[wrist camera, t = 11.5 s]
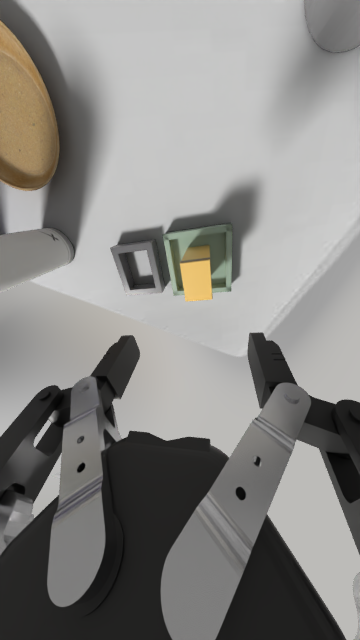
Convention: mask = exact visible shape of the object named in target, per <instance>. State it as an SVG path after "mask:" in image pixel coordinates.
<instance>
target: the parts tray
mask: <svg viewBox="0 0 360 640" xmlns="http://www.w3.org/2000/svg"><path fill="white" fill-rule="evenodd" d="M163 240H164V245H165V251H166V256H167V262H168V267H169V273H170V278H171V283H172V289H173V294H174V296H176V295H185V294H184V288H183V281H182V275H181V268H180V261H181V260H182V258H183V256H184V254H185V252H186V250H187V248H189V247H196V246H204V245H210V262H211V280H212V293H216V292H229V291H231V272H232V224H231V223H226V224H219V225H213V226H206V227H199V228H193V229H186V230H180V231H173V232H166V233H165V234H163Z"/></svg>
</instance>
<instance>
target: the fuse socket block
mask: <svg viewBox="0 0 360 640" xmlns="http://www.w3.org/2000/svg"><path fill="white" fill-rule="evenodd" d="M110 249H111V252H112V255H113V258H114V260H115V263H116V266H117V269H118V272H119V275H120V278H121V280H122V283H123V286H124V289H125V292H126V295H140V294H152V293H162V292H163V290H164V288H165V284H164V279H163V274H162V269H161V265H160V260H159V255H158V250H157V245H156V240H155V239H154V240H147V241H140V242H133V243H126V244H120V245H116V246H113V247H111V248H110ZM141 250H147V253H148V258H149V262H150V266H151V270H152V274H153V278H154V283H150V284H140V285H135V284H134V281H133V277H132V274H131V271H130V268H129V264H128V261H127V258H126V255H125V253H126V252H134V251H141Z"/></svg>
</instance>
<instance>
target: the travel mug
mask: <svg viewBox="0 0 360 640" xmlns="http://www.w3.org/2000/svg"><path fill="white" fill-rule="evenodd" d="M73 258H74V249H73V246H72V244H71V242H70V241H69V239H68V238H67V237H66V236H65V235H64V234H63V233H62V232H60V231H59V230H57V229H54V228H43V229H36V230H30V231H23V232H16V233H9V234H3V235H0V293H1V292H3V291H5V290H8V289H10V288H13V287H15V286H17V285H20V284H22V283H24V282H27V281H29V280H31V279H34V278H36V277H38V276H41V275H43V274H45V273H48V272H50V271H53V270H55V269H57V268H60V267H62V266H64V265H67V264H69V263H71V261H72V260H73Z"/></svg>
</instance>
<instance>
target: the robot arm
mask: <svg viewBox="0 0 360 640" xmlns="http://www.w3.org/2000/svg"><path fill="white" fill-rule="evenodd" d="M304 4H305V17H306V21H307V25H308V29H309V32H310V34H311V36H312V37H313V39H314V41H315V42H316V43H317V44H318V45H319V46H320V47H321V48H322V49H325V50H327V51H330V52H344V51H347V50H350V49H354V48H356V47H357V46H359V45H360V0H304ZM139 357H140V351H139V348H138V346H137V343H136V340H135V338H134V336H132V335H129V336H121V338H120V339H119V341H118V342H117V343H115V344H114V345H112V346H111V347H110V348H109V350H108V351H107V353H106V354H105V355H104V357H103V359H102V360H101V361H100V363H99V364H98V365H97V367H96V368H95V370H94V371H93V373H92V374H91V376H89V377H86V378H83V379H81V380H80V381H78V382H77V383H76V384H75V385H74V386H73V387H72V388H68V389H65V390H60V389H59V388H58V386H55V385H54V386H49V387H46V388H44V389H43V390H41V391H40V392H39V393H38V394H37V395H36V396H35V397H34V398H33V399H32V400H31V402H30V403H29V404H28V405H27V406H26V407H25V409H24V410H23V411H22V412H21V414H20V415H19V416H18V417H17V418H16V419H15V421H14V422H13V423H12V424H11V425H10V426H9V428H8V429H7V430H6V431H5V432H4V433H3V435H2V436H1V437H0V640H346V639H345V637H344V635H343V633H342V631H341V629H340V628H339V626H338V624H337V622H336V621H335V619H334V618H333V616H332V614H331V613H330V611H329V610H328V608H327V607H326V605H325V603H324V602H323V600H322V599H321V597H320V596H319V594H318V593H317V591H316V589H315V588H314V586H313V585H312V583H311V582H310V580H309V579H308V577H307V576H306V574H305V572H304V571H303V569H302V568H301V566H300V565H299V563H298V562H297V560H296V558H295V557H294V555H293V554H292V552H291V551H290V549H289V548H288V546H287V545H286V543H285V541H284V540H283V538H282V537H281V535H280V534H279V532H278V531H277V529H276V527H275V526H274V524H273V523H272V521H271V520H270V518H269V517H268V515H267V512H268V509H269V507H270V505H271V502H272V500H273V497H274V495H275V492H276V490H277V488H278V485H279V483H280V480H281V478H282V475H283V473H284V471H285V468H286V466H287V463H288V461H289V458H290V456H291V454H292V451H293V448H294V445H295V442H296V440H300V441H302V442H305V443H307V444H310V445H312V446H315V447H317V448H319V450H320V452H321V455H322V458H323V460H324V463H325V465H326V468H327V471H328V473H329V476H330V478H331V481H332V484H333V486H334V489H335V491H336V494H337V497H338V499H339V502H340V505H341V507H342V510H343V512H344V515H345V518H346V520H347V523H348V525H349V528H350V531H351V533H352V536H353V539H354V541H355V544H356V546H357V549H358V552H359V554H360V403H359V402H356V401H353V400H341V401H339V402H337V404H333V403H330V402H326V401H323V400H320V399H317V398H314V397H312V396H310V395H308V393H307V392H306V391H305V390H304V389H302V388H301V387H299V386H298V385H297V383H296V381H295V379H294V377H293V375H292V373H291V371H290V369H289V367H288V364H287V362H286V361H285V358H284V356H283V355H282V352H281V349H280V347H279V346H278V345H277V344H276V343H275V342H273V341H266V339H265V336H264V334H263V333H250V334H249V342H248V360H249V364H250V368H251V373H252V377H253V381H254V385H255V389H256V394H257V398H258V401H259V406H260V408H262V411H261V413H260V414H259V416H258V417H257V418H255V419H254V420H253V421H252V423H251V424H250V426H249V427H248V429H247V430H246V432H245V434H244V435H243V437H242V438H241V440H240V442H239V443H238V445H237V447H236V448H235V450H234V451H233V453H232V455H231V456H230V458H229V457H228V456H227V455H226V454H224V453H223V452H222V451H221V450H219V449H217V448H215V447H214V446H211V445H210V439H205V438H195V437H185V438H180V439H175V440H170V441H165V440H163V439H161V438H159V437H156V436H154V435H152V434H150V433H147V432H137V431H130V432H129V434H128V437H126V438H124V439H122V438H121V436H120V434H119V431H118V427H117V422H116V417H115V412H114V408H113V404H112V401H113V399H121V397H122V395H123V393H124V391H125V388H126V386H127V384H128V382H129V380H130V378H131V375H132V373H133V371H134V369H135V367H136V364H137V362H138V360H139ZM47 420H49V421H50V422H51V425H50V426H49V428H48V429H47V431H46V432H45V434H44V435H43V437H42V438H41V440H40V441H39V443H38V444H37V446H36V447H34V445H33V443H34V439H35V437H36V436H37V434H38V433H39V432H40V430H41V429H42V427H43V426H44V424H45V423H46V422H47ZM61 452H62V457H61V473H60V490H59V495H58V497H56V498H55V499H54V500H53V501H52V502H51V503H50V504H49V505H48V506H47V507H46V508H45V509H44V510H43V511H42V512H41V513H40V514H39V515H38V516H37V517H35V518H34V515H33V514H31V513H32V509H33V503H34V501H35V499H36V498H37V496H38V494H39V492H40V490H41V489H42V487H43V485H44V483H45V481H46V480H47V477H48V476H49V474H50V472H51V470H52V469H53V467H54V465H55V463H56V461H57V460H58V458H59V456H60V454H61ZM353 593H354V599H355V602H356V608H357V611H358V621H359V623H358V632H357V635H356V637H355V639H354V640H360V572H359V573H358V574H357V575H356V576H355V578H354V582H353Z"/></svg>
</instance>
